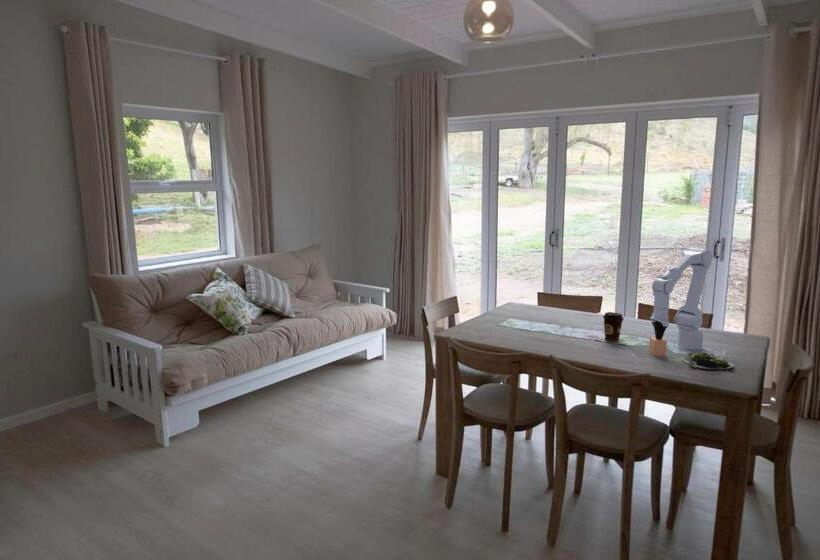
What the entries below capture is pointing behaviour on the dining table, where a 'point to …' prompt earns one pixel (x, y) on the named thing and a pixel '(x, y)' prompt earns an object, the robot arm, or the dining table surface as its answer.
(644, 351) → the mat
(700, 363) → the salad plate
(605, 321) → the coffee cup
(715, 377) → the dining table surface
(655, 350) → the peach foam cube
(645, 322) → the dining table surface
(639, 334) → the dining table surface
